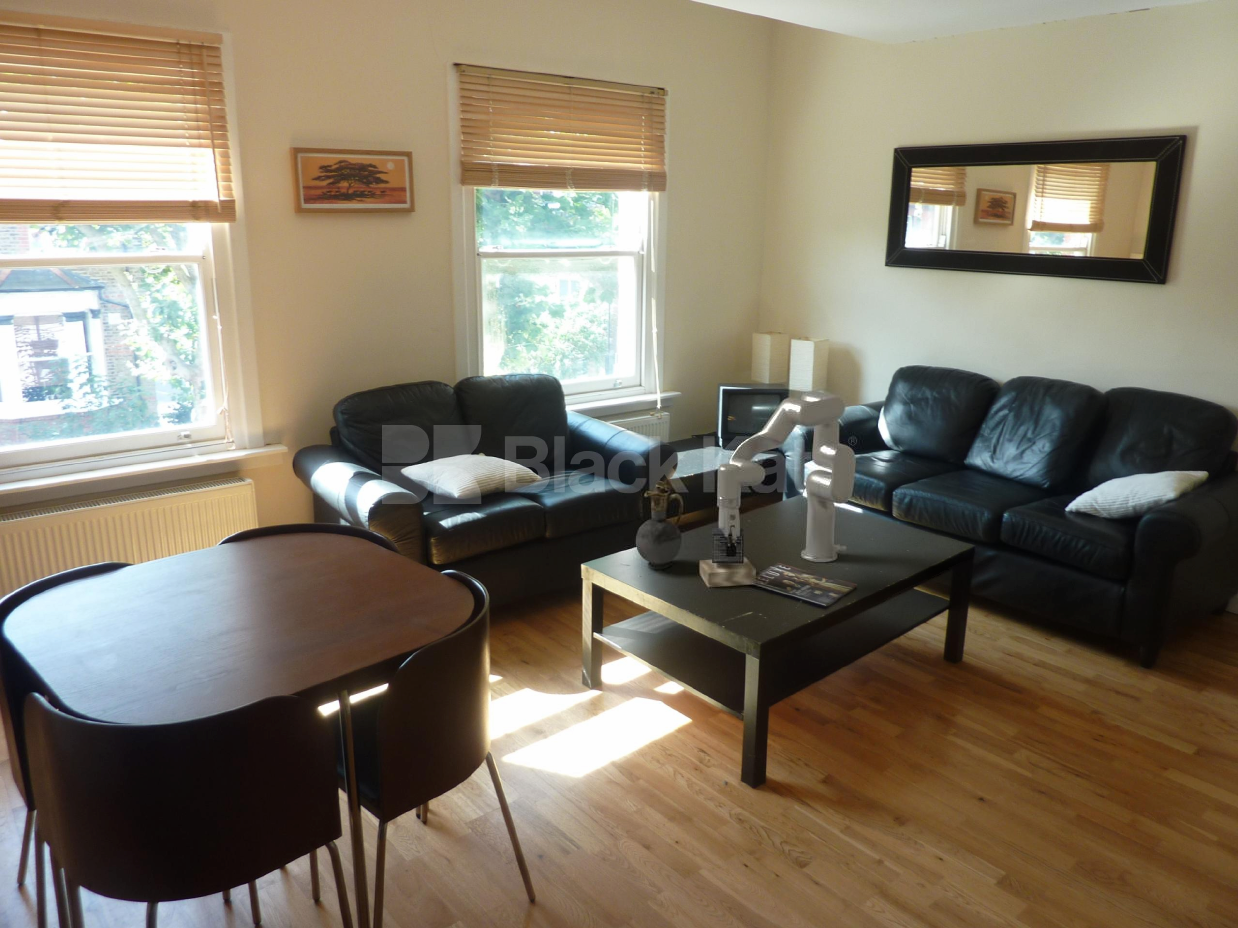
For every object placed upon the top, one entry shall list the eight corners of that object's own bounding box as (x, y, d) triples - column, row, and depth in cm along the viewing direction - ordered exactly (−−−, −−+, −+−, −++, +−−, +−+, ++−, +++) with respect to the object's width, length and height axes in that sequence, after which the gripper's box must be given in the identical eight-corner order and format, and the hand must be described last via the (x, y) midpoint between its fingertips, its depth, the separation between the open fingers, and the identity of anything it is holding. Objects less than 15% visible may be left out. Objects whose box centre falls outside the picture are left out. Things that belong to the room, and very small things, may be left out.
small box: (742, 557, 317) (743, 527, 314) (744, 563, 311) (744, 533, 308) (711, 556, 318) (711, 527, 315) (711, 563, 311) (712, 533, 309)
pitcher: (631, 566, 328) (630, 484, 320) (671, 554, 339) (672, 474, 332) (652, 575, 320) (652, 490, 312) (692, 562, 331) (693, 480, 324)
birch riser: (744, 571, 323) (745, 557, 322) (755, 583, 311) (755, 569, 310) (699, 574, 320) (699, 560, 319) (708, 587, 309) (708, 572, 308)
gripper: (747, 508, 301) (746, 560, 306) (732, 493, 318) (731, 543, 322) (724, 509, 300) (723, 562, 305) (711, 494, 317) (710, 544, 321)
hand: (727, 552), depth 314 cm, fingers closed on small box, 7 cm apart
